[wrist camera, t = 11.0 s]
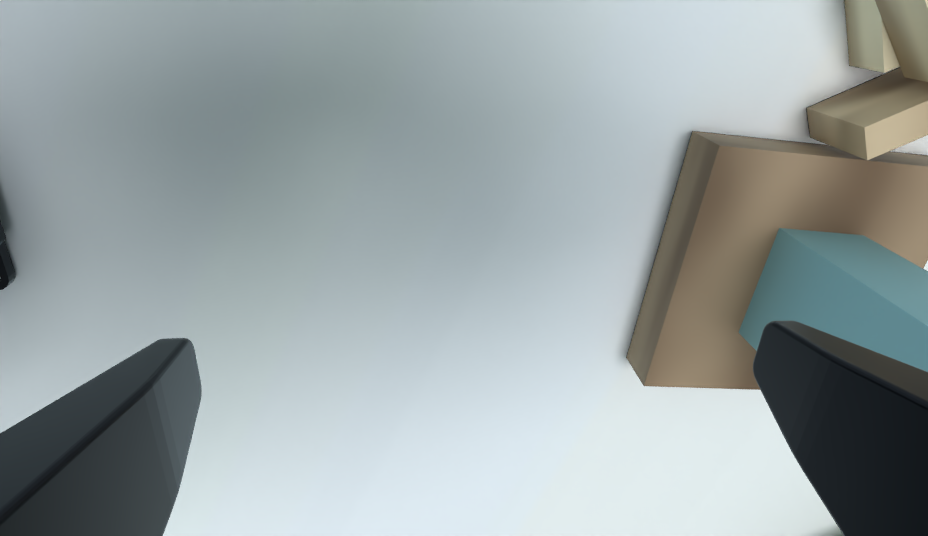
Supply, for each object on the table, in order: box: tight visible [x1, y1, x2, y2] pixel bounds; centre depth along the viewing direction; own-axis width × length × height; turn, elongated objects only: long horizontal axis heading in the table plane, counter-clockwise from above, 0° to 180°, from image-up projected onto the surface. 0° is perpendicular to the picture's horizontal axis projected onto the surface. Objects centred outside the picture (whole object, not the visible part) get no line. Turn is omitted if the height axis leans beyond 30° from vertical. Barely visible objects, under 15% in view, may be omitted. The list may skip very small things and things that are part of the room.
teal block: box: [739, 228, 928, 372], centre depth 18 cm, size 4×4×10 cm
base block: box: [626, 131, 928, 390], centre depth 24 cm, size 10×10×2 cm
